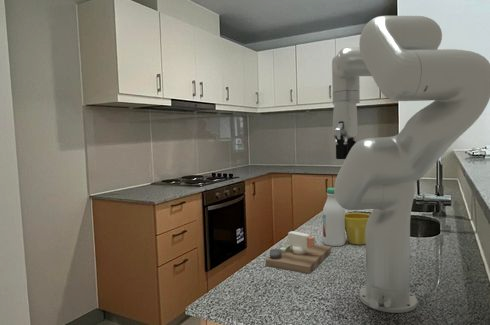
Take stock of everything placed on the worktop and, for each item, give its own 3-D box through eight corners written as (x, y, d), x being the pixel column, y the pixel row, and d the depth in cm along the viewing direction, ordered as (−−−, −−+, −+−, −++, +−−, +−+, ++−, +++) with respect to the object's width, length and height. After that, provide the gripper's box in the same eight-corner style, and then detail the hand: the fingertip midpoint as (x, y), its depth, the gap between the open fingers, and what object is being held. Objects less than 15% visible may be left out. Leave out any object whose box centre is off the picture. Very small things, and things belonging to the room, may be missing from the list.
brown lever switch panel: (309, 273, 100) (309, 260, 100) (265, 265, 108) (265, 253, 107) (331, 252, 117) (330, 240, 117) (292, 246, 125) (291, 235, 124)
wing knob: (286, 251, 113) (286, 233, 113) (294, 248, 116) (294, 230, 116) (309, 257, 107) (309, 238, 107) (317, 253, 110) (316, 234, 110)
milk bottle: (349, 242, 127) (348, 187, 126) (338, 248, 122) (337, 190, 120) (330, 238, 132) (329, 186, 131) (319, 244, 127) (318, 188, 125)
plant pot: (342, 237, 134) (342, 211, 133) (371, 238, 131) (371, 212, 130) (342, 245, 124) (342, 218, 123) (373, 247, 121) (373, 219, 120)
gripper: (341, 101, 111) (342, 155, 112) (323, 97, 96) (324, 160, 98) (366, 99, 107) (366, 155, 108) (351, 95, 92) (352, 160, 94)
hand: (346, 157), depth 103 cm, fingers open, 9 cm apart
